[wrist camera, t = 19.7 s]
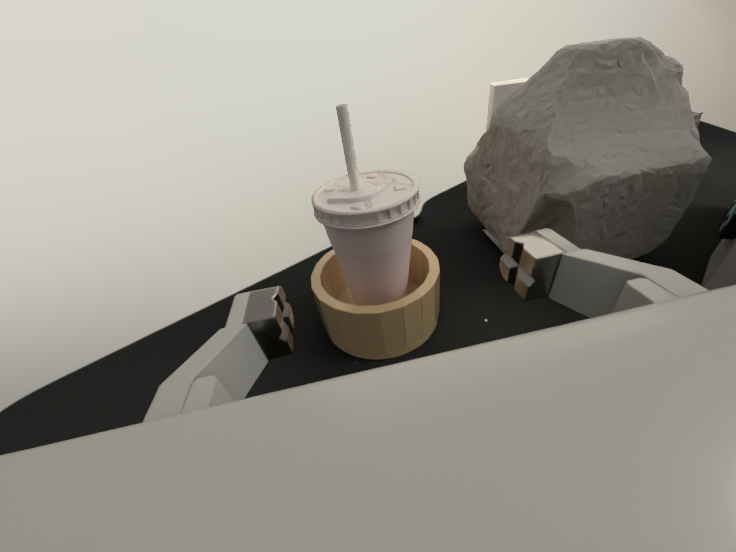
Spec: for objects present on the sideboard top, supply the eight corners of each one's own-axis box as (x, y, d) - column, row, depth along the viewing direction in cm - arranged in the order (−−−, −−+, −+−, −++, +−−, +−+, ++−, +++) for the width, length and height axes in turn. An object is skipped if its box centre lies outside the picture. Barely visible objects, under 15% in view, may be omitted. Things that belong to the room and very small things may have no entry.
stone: (522, 295, 22) (582, 53, 13) (458, 224, 32) (468, 57, 23) (662, 265, 23) (813, 11, 14) (557, 204, 33) (605, 32, 24)
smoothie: (328, 303, 24) (271, 113, 15) (392, 272, 26) (372, 90, 18) (368, 355, 19) (317, 123, 11) (441, 311, 21) (447, 91, 13)
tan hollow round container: (312, 359, 20) (294, 314, 18) (337, 279, 27) (326, 238, 25) (444, 360, 19) (445, 311, 16) (434, 275, 26) (434, 231, 23)
